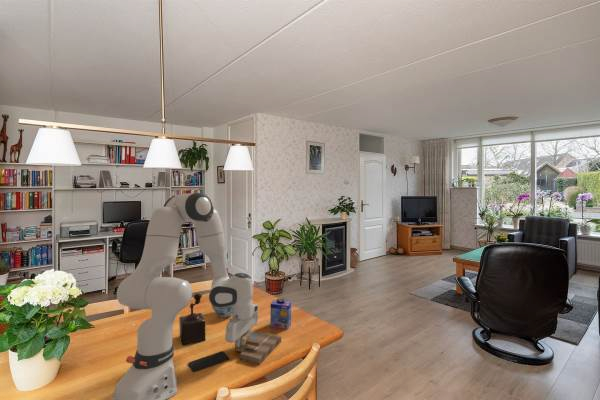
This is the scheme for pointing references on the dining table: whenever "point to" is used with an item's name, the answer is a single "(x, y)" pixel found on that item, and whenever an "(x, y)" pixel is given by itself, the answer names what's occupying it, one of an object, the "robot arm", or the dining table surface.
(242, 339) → the marking gauge
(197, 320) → the coffee grinder
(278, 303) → the ink cartridge box
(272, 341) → the walnut board
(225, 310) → the chinaware
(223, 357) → the phone
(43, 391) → the dining table surface
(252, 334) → the slate pad
